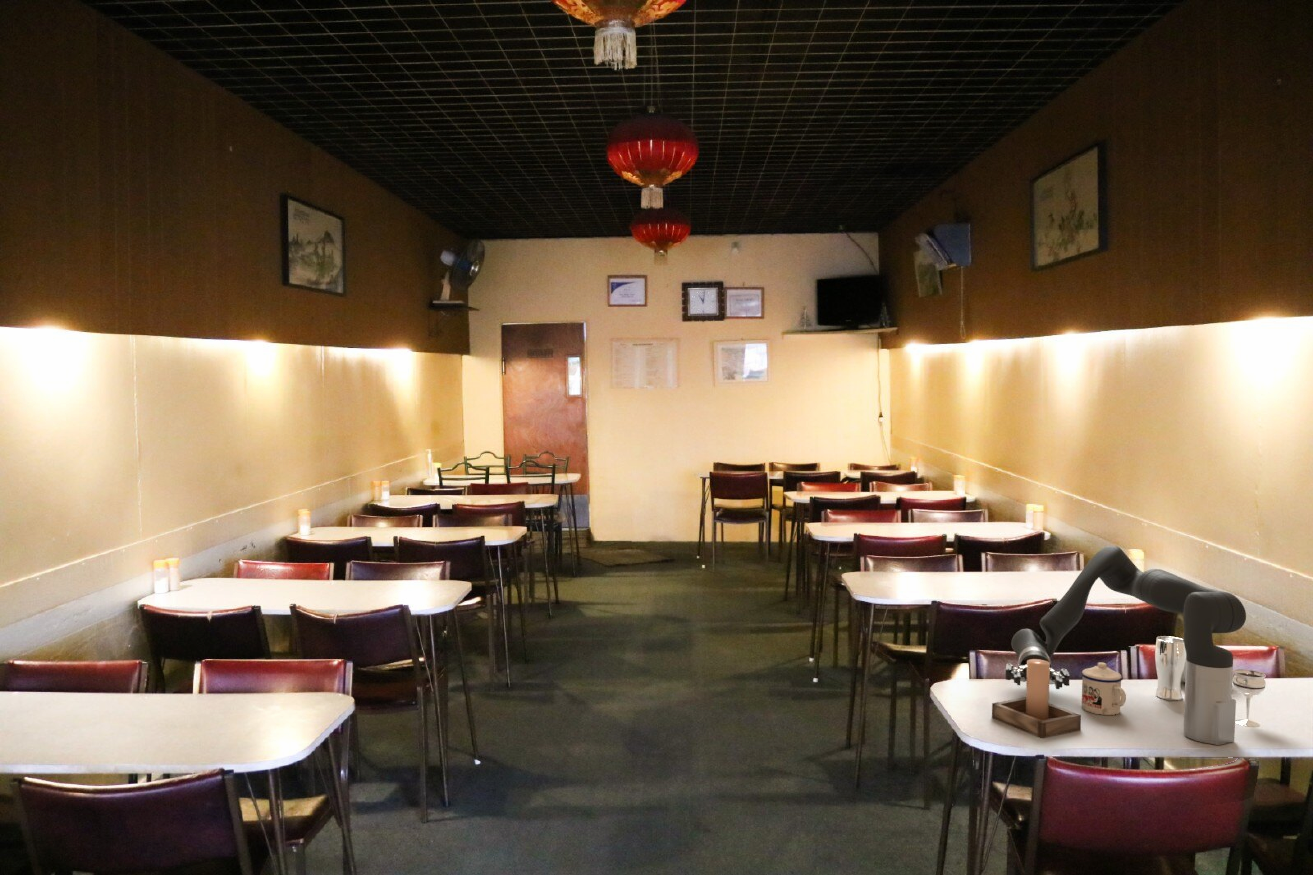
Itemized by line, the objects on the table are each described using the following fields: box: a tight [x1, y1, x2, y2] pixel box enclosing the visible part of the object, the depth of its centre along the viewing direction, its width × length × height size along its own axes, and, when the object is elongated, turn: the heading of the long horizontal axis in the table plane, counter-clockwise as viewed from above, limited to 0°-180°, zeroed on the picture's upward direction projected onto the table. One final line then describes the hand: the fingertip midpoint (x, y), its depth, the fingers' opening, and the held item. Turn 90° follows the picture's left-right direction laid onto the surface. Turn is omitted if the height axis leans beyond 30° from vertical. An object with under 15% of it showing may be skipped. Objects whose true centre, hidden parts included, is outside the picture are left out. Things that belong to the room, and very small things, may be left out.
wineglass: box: [1232, 668, 1267, 728], centre depth 228 cm, size 7×7×12 cm
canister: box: [1025, 659, 1050, 720], centre depth 227 cm, size 5×5×14 cm
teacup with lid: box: [1081, 661, 1127, 716], centre depth 236 cm, size 12×9×12 cm
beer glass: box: [1154, 635, 1186, 701], centre depth 248 cm, size 7×7×15 cm
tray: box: [991, 696, 1082, 739], centre depth 227 cm, size 15×12×4 cm
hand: (1038, 683), depth 226 cm, fingers open, 8 cm apart
